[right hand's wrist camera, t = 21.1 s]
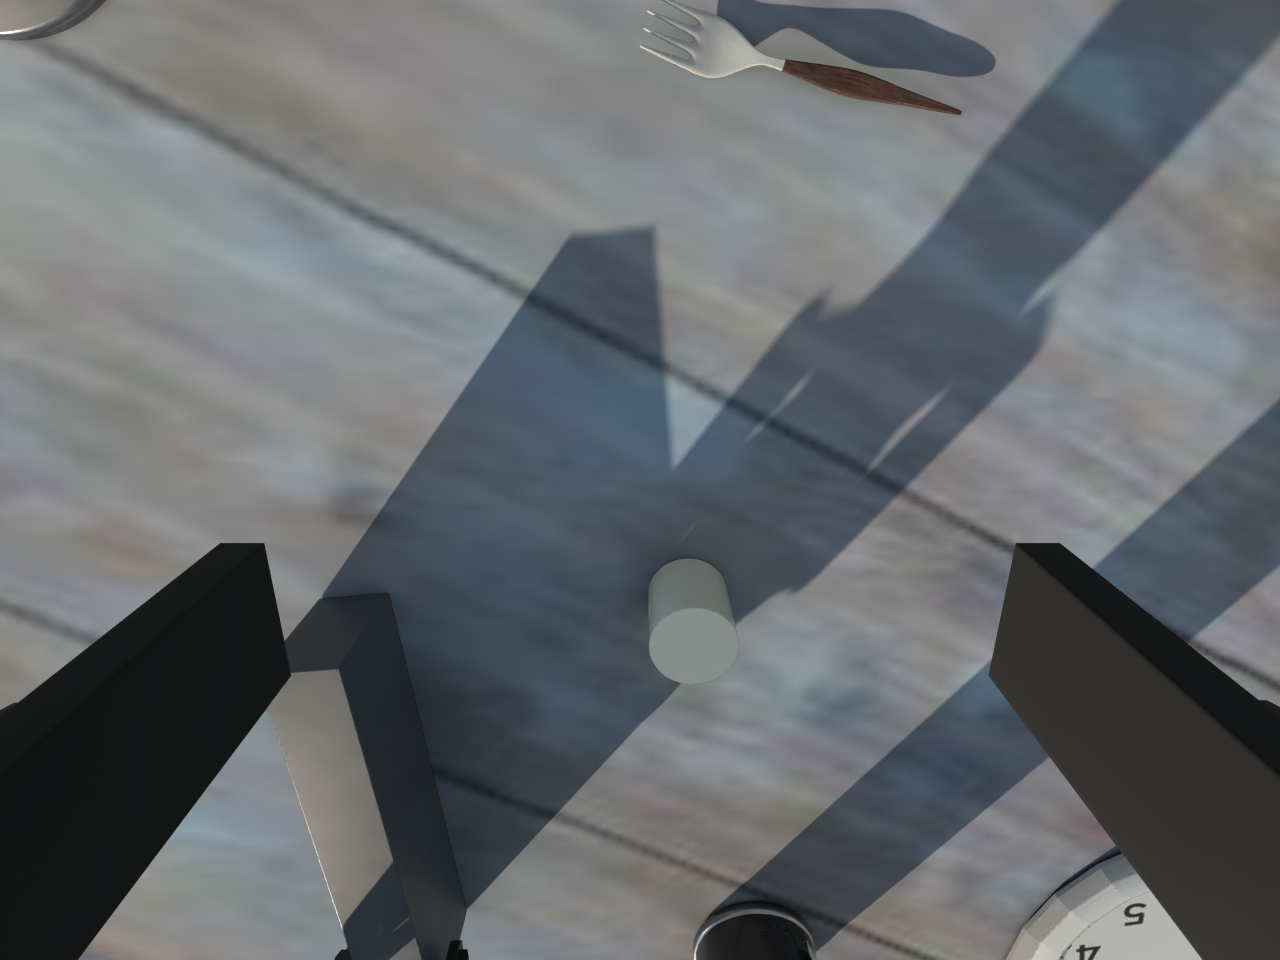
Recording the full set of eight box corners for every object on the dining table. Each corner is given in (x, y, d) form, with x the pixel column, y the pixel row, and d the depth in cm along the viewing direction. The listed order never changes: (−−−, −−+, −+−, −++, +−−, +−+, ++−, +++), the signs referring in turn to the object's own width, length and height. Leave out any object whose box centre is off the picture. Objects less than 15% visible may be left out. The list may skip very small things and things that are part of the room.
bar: (319, 598, 45) (255, 674, 38) (388, 592, 45) (339, 668, 38) (409, 914, 55) (373, 1024, 48) (467, 910, 55) (439, 1020, 48)
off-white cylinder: (648, 557, 44) (649, 608, 39) (728, 557, 44) (741, 608, 39) (647, 627, 46) (648, 684, 40) (725, 627, 46) (736, 685, 40)
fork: (946, 143, 36) (963, 139, 34) (638, 60, 35) (638, 51, 33) (966, 85, 35) (985, 78, 33) (651, -2, 34) (652, -15, 32)
